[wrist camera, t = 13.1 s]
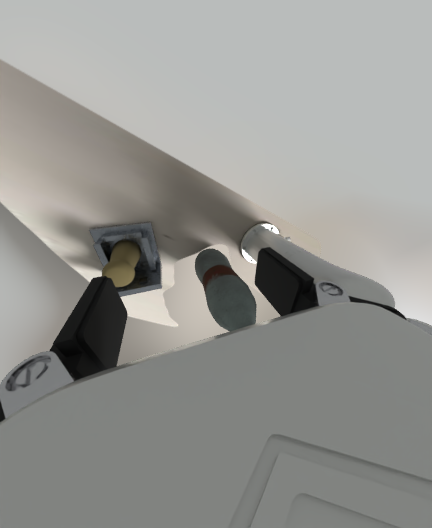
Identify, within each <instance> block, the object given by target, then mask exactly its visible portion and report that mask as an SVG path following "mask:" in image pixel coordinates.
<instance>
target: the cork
mask: <svg viewBox="0 0 432 528" xmlns="http://www.w3.org/2000/svg"><path fill="white" fill-rule="evenodd" d="M141 254H142V251H141V248H140V247H139V245H138V244H136V243H135V242H133V241H131V240H121V241H118V242H117V243H115V244H114V246H113V248H112V253H111V258H110V262H108V263H107V264H106V265H105V266H104V268H103V270H102V276H107V277H108V278H111V279H112V281H113V283H114V285H115V287H123V286H126V285H128V284H129V283H131V282H132V280H133V279H134V276H135V271H134V268H135V266H136V264H137V262H138V261H139V259H140V257H141Z"/></svg>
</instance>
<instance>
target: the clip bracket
mask: <svg viewBox="0 0 432 528" xmlns="http://www.w3.org/2000/svg"><path fill="white" fill-rule="evenodd" d="M89 231H90V233H91V235H92V237H93V239H94V242H95V243H94V245H93V246H94V248H95V250H96V252H97V254H98V256H99V258H100V260H101V262H102V265H103V267H104V266H105V265H106V264H107V263H108V262H110V258H111V253H112V248H113V246H114V244H115V243H117V242H118V241H121V240H131V241H133V242H135V243H136V244H138V245H139V247H140V248H141V251H142V254H141V257H140V259H139V261H138V262H137V264H136V266H135V268H134V271H135V276H134V279H133V280H132V282H131V283H129V284H128V285H126V286H123V287H116V289H117V291H118V293H119V296H120V297H122V296H127V295H131V294H136V293H141V292H146V291H151V290H155V289H160V288H162V265H161V261H160V257H159V253H158V249H157V245H156V241H155V237H154V233H153V229H152V225H151V222H146V223H137V224H128V225H119V226H110V227H101V228H92V229H90V230H89Z"/></svg>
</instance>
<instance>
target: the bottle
mask: <svg viewBox="0 0 432 528" xmlns="http://www.w3.org/2000/svg"><path fill="white" fill-rule="evenodd" d="M195 270H196V274H197V276H198V278H199V280H200V281H201V283H202V284H203V286H204V291H205V294H206V300H207V305H208V308H209V310H210V312H211V314H212V316H213V318H214V319H215V321H216V322H217V323H218V324H219V325H220V326H221V327H223V328H225V329H227V330H228V331H234V330H237V329H240V328H244V327H247V326H251V325H254V324H255V322H256V302H255V298H254V296H253V295H252V293H251V291H250V289H249V287H248V285H247V284H246V283H245V282H244V281H243V280H242V279H241V278H240V277H239V276H238V275H237V274H236V273H235V272H234V271H233V270H232V268H231V265H230V263H229V261H228V259H227V258H226V257H225V256H224V255H223V254H222V253H221V252H220V251H218V250H215V249H206V250H203V251H202V252H200V253H199V254H198V256H197V258H196V261H195Z"/></svg>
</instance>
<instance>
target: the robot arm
mask: <svg viewBox="0 0 432 528" xmlns="http://www.w3.org/2000/svg"><path fill="white" fill-rule="evenodd" d="M241 253H242V255H243V257H244V258H245V259H246V260H247V261H249V262H251V263H257V267H256V275H255V285H256V286H257V288H258V289H259V290H260V291H261V293H262V294H263V295H264V296H265V297H266V298H267V300H268V301H269V302H270V303H271V305H272V306H273V307H274V308H275V309H276V311H277V312H278V313H279V314H280V315H281V317H278V318H275V319H271V320H268V321H264V322H261V323H258V324H254V325H251V326H247V327H244V328H240V329H237V330H234V331H230V332H227V333H224V334H220V335H217V336H214V337H210V338H207V339H204V340H200V341H197V342H194V343H190V344H187V345H184V346H181V347H178V348H174V349H171V350H168V351H164V352H161V353H158V354H155V355H151V356H148V357H145V358H141V359H138V360H135V361H132V362H129V363H126V364H123V365H119V366H116V365H117V361H118V356H119V352H120V347H121V343H122V338H123V334H124V329H125V324H126V320H127V310H126V308H125V306H124V304H123V302H122V300H121V298H120V296H119V293H118V291H117V289H116V287H115V285H114V283H113V281H112V279H111V278H108V277H107V276H102V277H96V278H93V279H92V280H91V282H90V284H89V286H88V287H87V289H86V290H85V292H84V294H83V295H82V297H81V298H80V300H79V302H78V304H77V305H76V307H75V308H74V310H73V312H72V313H71V315H70V316H69V318H68V320H67V321H66V323H65V325H64V326H63V328H62V329H61V331H60V333H59V335H58V336H57V338H56V339H55V341H54V343H53V346H52V348H51V349H50V351H46V352H41V353H38V354H36V355H33V356H31V357H29V358H28V359H26V360H24V361H23V362H21V363H20V364H18V365H17V366H16V367H15V368H14V369H12V370H11V371H10V372H9V373H8V374H7V375H6V377H5V378H4V379H3V380H2V382H1V384H0V528H432V326H431V325H429V324H427V323H424V322H421V321H418V320H415V319H409V318H405V317H404V315H402V314H401V313H400V312H399V311H397V310H396V309H395V308H394V307H395V302H394V298H393V296H392V294H391V293H390V292H389V291H388V290H387V289H386V288H385V287H384V286H382V285H380V284H379V283H377V282H375V281H373V280H371V279H369V278H367V277H364V276H362V275H359V274H356V273H353V272H351V271H348V270H346V269H343V268H340V267H338V266H335V265H333V264H331V263H329V262H327V261H325V260H323V259H321V258H319V257H317V256H315V255H314V254H312V253H310V252H308V251H306V250H304V249H303V248H301V247H299V246H297V245H295V244H294V243H292V242H290V237H285V238H284V237H282V236H280V235H279V232H278V230H277V228H276V227H275V226H273V225H271V224H268V223H260V224H257V225H255V226H253V227H252V228H251V229H249V230H248V231H247V232H246V234H245V235H244V237H243V239H242V242H241Z"/></svg>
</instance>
